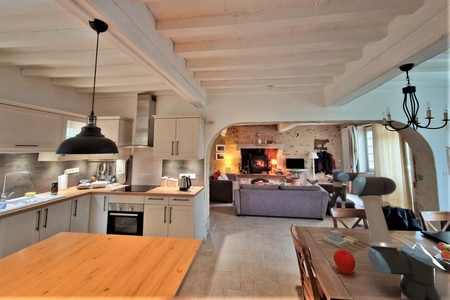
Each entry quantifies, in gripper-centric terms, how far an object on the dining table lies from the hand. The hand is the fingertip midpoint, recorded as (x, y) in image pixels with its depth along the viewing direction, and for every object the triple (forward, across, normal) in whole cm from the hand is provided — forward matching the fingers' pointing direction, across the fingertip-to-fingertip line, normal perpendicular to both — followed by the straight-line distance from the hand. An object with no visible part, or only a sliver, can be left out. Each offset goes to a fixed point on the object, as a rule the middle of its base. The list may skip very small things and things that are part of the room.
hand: (339, 209), depth 161 cm
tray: (+26, -13, -3) cm, 29 cm away
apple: (+27, -46, -28) cm, 60 cm away
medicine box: (+25, -13, -3) cm, 28 cm away
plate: (+26, -1, -8) cm, 27 cm away
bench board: (+27, -7, -7) cm, 28 cm away
